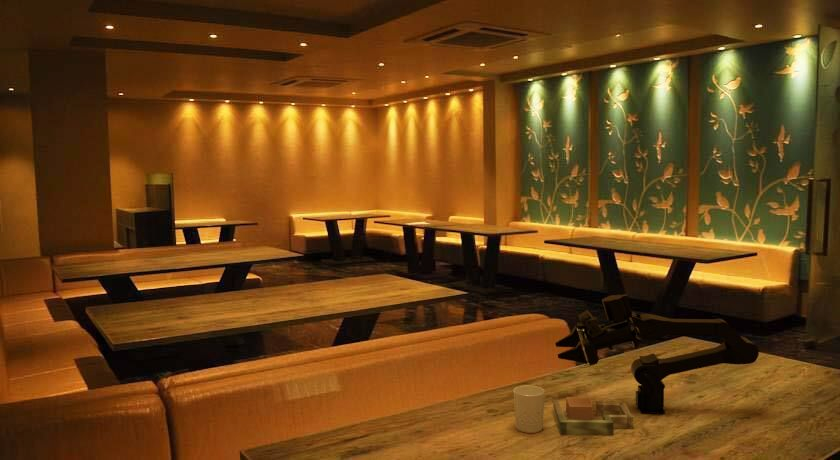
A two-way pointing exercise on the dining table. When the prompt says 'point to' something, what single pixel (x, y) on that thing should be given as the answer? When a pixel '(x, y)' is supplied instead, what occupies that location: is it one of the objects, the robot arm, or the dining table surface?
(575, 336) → the robot arm
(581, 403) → the block
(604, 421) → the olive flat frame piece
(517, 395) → the white cup
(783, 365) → the dining table surface
